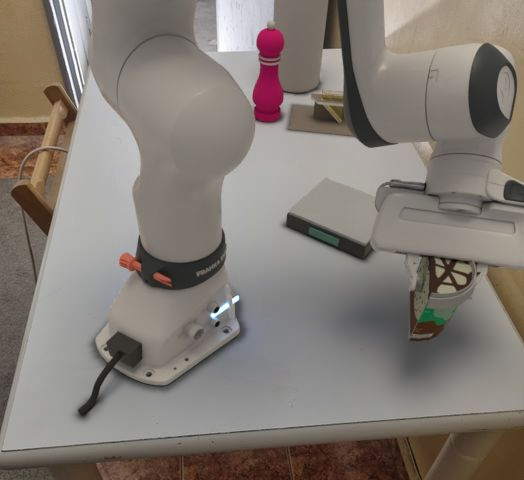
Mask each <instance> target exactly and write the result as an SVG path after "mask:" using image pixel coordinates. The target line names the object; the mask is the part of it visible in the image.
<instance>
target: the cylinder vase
mask: <svg viewBox="0 0 524 480" xmlns="http://www.w3.org/2000/svg"><path fill="white" fill-rule="evenodd" d="M328 7H329V0H273V19H272V20H273V21H274V22H275V29H278V30H279V31H280V32H281V33H282V34H283V37H284V48H283V50H282V51H281V52H280V54H281V62H280V63H279V67H278V75H279V80H280V83H281V86H282V89H283V92H287V93H292V94H293V93H294V94H295V93H296V94H297V93H298V94H299V93H306V92H310V91H314V89H316V88H317V87H318V86H319V84H320V77H321V68H322V59H323V51H324V42H325V34H326V33H325V32H326V24H327V16H328Z"/></svg>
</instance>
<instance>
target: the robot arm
mask: <svg viewBox="0 0 524 480" xmlns="http://www.w3.org/2000/svg"><path fill="white" fill-rule="evenodd" d="M197 2H198V0H91V3H92V9H91V10H92V12H91V13H92V15H91V17H92V18H91V19H92V20H91V21H92V24H91V25H92V32H91V34H90V37H89V40H88V46H87V58H88V64H89V67H90V71H91V74H92V76H93V79H94V81H95V84H96V86H97V88H98V90H99V92H100V94H101V96H102V97H103V100H104V101H105V102H106V103H107V104H108V105H109V106H110V108H112V110H113V111H114V112H115V113H116V114H117V115H118V117H120V119H121V120H122V121H123V122H124V123H125V125H126V126H127V127H128V128H129V130H130V132H131V134H132V136H133V138H134V140H135V142H136V146H137V149H138V151H139V152H138V153H139V158H140V160H139V161H140V166H139V167H140V169H139V174H138V176H137V177H136V178H135V180H134V181H133V185H132V191H131V194H132V195H131V196H132V200H133V206H134V212H135V217H136V222H137V228H138V233H139V234H138V239H137V243H136V250H135V256H133V255H132V254H131V253H128V252H124V253H122V254H121V255H120V257H119V260H118V264H119V266H120V267H122V268H124V269H127V270H128V272H129V271H130V274H129V275H128V277H127V279H126V280H125V281H124V284H123V286H122V288H121V289H120V291H119V292H118V294H117V296H116V297H115V299H114V301H113V302H112V304H111V306H110V307H109V310H108V313H107V314H108V315H107V323H106V324H105V326H104V327H103V328H102V329H101V330H100V332H99V333H98V334H97V335H96V336H95V340H94V341H95V345H96V349H97V351H98V353H99V355H100V356H101V358H102V359H104V361H105V362H107V364H106V365H105V366H104V367H103V369H102V370H101V372H100V373H99V375H98V376H97V378H96V380H95V381H94V384H93V387H92V391H91V394H90V396H89V398H88V400H87V401H86V402H85V403H84V404H83V405H81V407H79V408H78V409H77V412H78V413H80V415H82V416H84V414H85V413H86V412H88V411H89V410H90V409H91V408H92V407H93V406H94V405H95V404H96V402H97V400H98V398H99V394H100V390H101V387H102V385H103V383H104V381H106V378H107V377H108V375H109V374H110V373H111V371H112V370H113V369H115V370H117V371H118V372H120V373H122V374H124V375H125V376H127V377H129V378H131V379H133V380H135V381H137V382H140V383H143V384H146V385H152V386H167V385H169V384H171V383H172V382H174V381H175V380H177V379H178V378H179V377H181V376H182V375H184V374H185V373H187V372H188V371H189V370H191V369H192V368H194V367H195V366H196V365H198V364H199V363H200V362H202V361H204V360H205V359H206V358H208V357H209V356H210V355H212V354H213V353H215V352H216V351H218V350H219V349H221V348H222V347H223V346H225V345H226V344H227V343H229V342H231V340H233V339H234V338H236V337H238V335H239V334H240V332H241V327H240V322H239V320H238V319H237V317H236V304H235V303H236V302H238V301H239V300H240V296H239V295H236V296H233V294H232V288H231V283H230V280H229V276H228V272H227V269H226V264H225V263H226V260H227V242H226V234H225V230H224V228H223V217H222V213H223V212H222V210H223V209H222V206H223V205H222V193H223V184H224V180H225V178H226V176H228V175H229V174H230V173H232V172H233V171H234V170H235V169H236V168H238V167H239V166H240V165H241V163H242V162H243V161H244V160H245V159H246V157H247V156H248V153H249V151H250V150H251V147H252V144H253V142H254V138H255V133H256V118H255V116H254V108H253V106H252V104H251V102H250V100H249V99H248V97H247V96H246V94H245V92H244V91H243V89H242V88H241V87H240V85H239V84H238V82H237V81H236V80H235V78H234V77H233V75H232V74H231V73H230V71H229V70H227V68H225V67H224V66H223V65H222V64H221V63H219V62H218V61H216V60H215V59H214V58H213V57H211V56H210V55H209V54H207V53H206V52H205V51H203V50H202V49H201V48H199V45H198V43H197V39H196V34H195V16H196V15H195V14H196V9H197ZM335 3H336V10H337V11H336V12H337V18H338V29H339V39H340V50H341V60H342V69H343V70H342V71H343V89H342V91H343V92H342V96H343V110H344V119H345V123H346V125H347V127H348V129H349V130H350V132H351V133H352V134H353V135H354V136H353V137H354V138H356V139H357V141H359V143H361V144H362V145H364V146H365V147H366V148H368V149H374V148H380V147H387V146H388V147H389V146H395V145H398V144H412V143H434V142H435V143H434V147H433V149H432V152H431V154H430V156H429V159H428V165H427V170H426V176H425V181H424V182H419V181H405V180H401V179H396V178H392V179H390V180H389V181H385V182H383V183H382V184H380V185H379V186H378V187H377V190H376V192H375V196H374V197H375V208H376V210H377V212H378V213H377V216H376V219H375V222H374V226H373V229H372V233H371V238H370V244H371V246H372V250H373V251H375V252H382V253H390V254H397V255H402V256H403V255H404V256H405V257H404V267H405V268H406V269H405V270H406V271H407V274H408V277H409V283H408V291H415V292H422V289H423V286H422V284H423V283H424V278H419V277H418V275H417V269H416V266H415V265H417V264H419V262H420V258H421V257H423V258H426V255H427V256H434V257H441V258H448V259H455V260H462V261H469V262H470V261H472V260H473V261H474V263H475V267H476V282H475V287H474V291H473V293H472V295H471V296H470V297H469V299H468V300H470V301H471V300H473V298H474V294H475V290H476V287H477V286H478V284H479V283H481V281H482V280H483V279H484V278H485V277H486V276H487V275H488V270H489V268H493V269H500V270H508V271H513V272H515V271H516V272H517V271H522V270H524V182H523V181H521V180H519V179H516V178H514V177H512V176H511V175H508V174H507V173H505V172H503V171H502V166H503V155H502V149H503V144H504V141H505V140H506V137H507V135H508V134H509V130H510V125H511V122H512V119H513V114H514V110H515V104H516V100H517V92H518V78H517V72H516V65H515V63H516V62H515V58H514V57H513V54H512V53H511V52H510V51H509V50H508V49H506V48H504V47H502V46H500V45H498V44H493V43H490V42H471V43H463V44H455V45H450V46H443V47H440V48H436V49H428V50H421V51H415V52H409V53H397V52H393V51H391V50H390V49H389V48H388V47H387V45H386V29H385V28H386V27H385V26H386V25H385V0H336V2H335ZM468 300H467V301H468Z"/></svg>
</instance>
